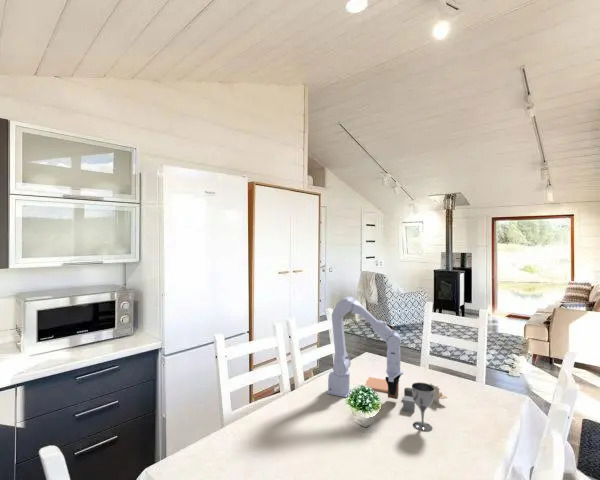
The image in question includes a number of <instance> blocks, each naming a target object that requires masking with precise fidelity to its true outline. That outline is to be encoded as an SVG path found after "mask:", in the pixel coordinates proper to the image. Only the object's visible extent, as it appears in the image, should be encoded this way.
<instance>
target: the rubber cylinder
mask: <svg viewBox="0 0 600 480" xmlns="http://www.w3.org/2000/svg"><path fill="white" fill-rule="evenodd" d="M403 391H404V392H403V393H404V394H403V395H404V396H409V397H413V396H412V387H405V388H404V390H403ZM404 396H403V397H404Z"/></svg>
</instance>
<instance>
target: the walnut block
mask: <svg viewBox="0 0 600 480" xmlns="http://www.w3.org/2000/svg"><path fill="white" fill-rule="evenodd" d="M399 383H400V381H399V382H398V384H397V387H396V393H395V395H391V394H390V393H389V388H388V393H387V398H389V399H395V400H398V398H399V390H400V389H399V388H400V386H399Z"/></svg>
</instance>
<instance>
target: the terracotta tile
mask: <svg viewBox="0 0 600 480" xmlns="http://www.w3.org/2000/svg"><path fill="white" fill-rule="evenodd" d="M365 385H366V386H369V387H370V388H372V389H374V390H373V391H375V392H382V393H387V394H388V384H387V382H386V379H384V378H383V379H382V378H376V377H371V376H369V377H368V379H367V381H366V382H365V384H364V386H365Z"/></svg>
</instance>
